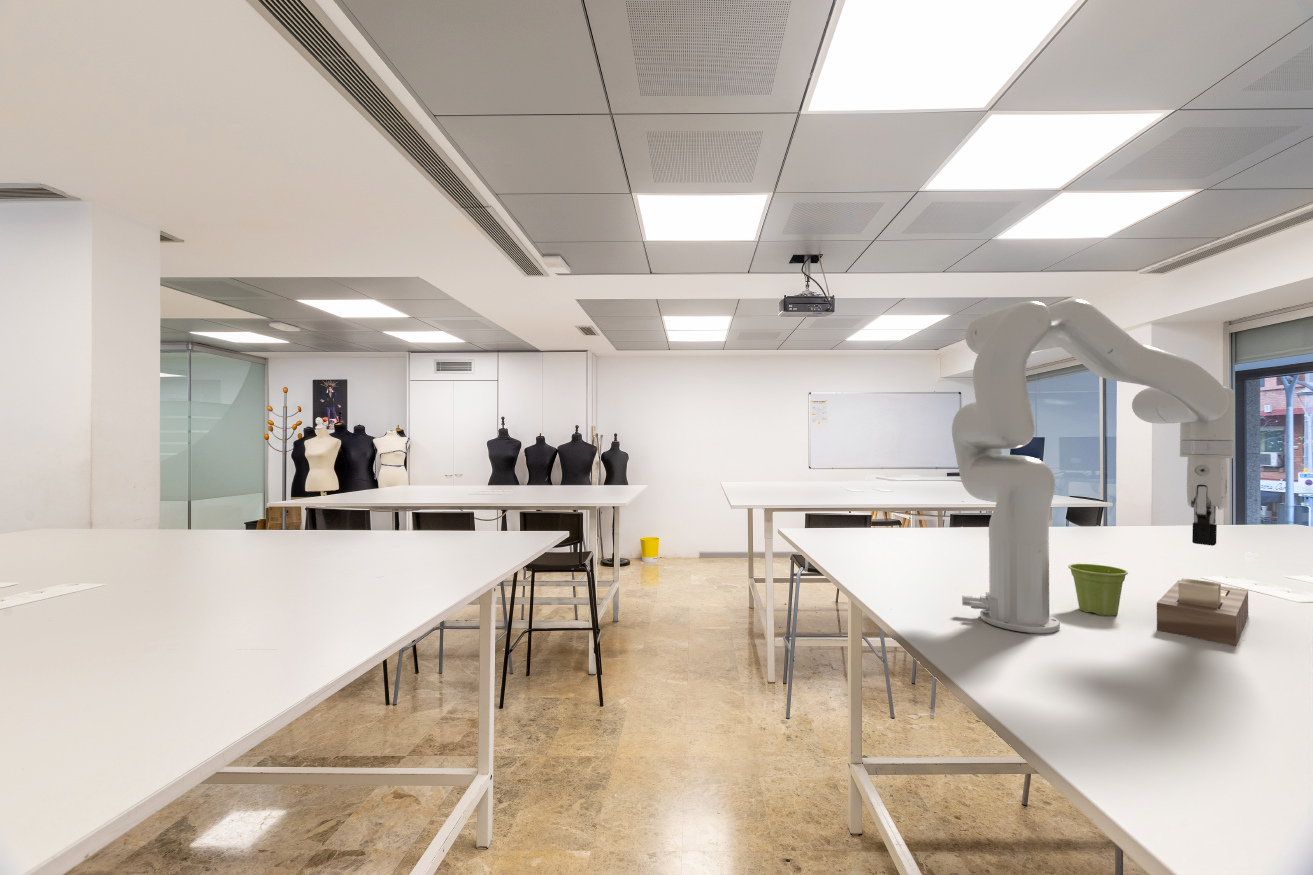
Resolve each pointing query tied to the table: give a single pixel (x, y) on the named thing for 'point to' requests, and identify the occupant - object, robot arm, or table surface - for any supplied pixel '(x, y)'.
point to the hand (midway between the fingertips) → (1204, 543)
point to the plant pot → (1098, 587)
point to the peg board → (1204, 616)
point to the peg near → (1200, 593)
